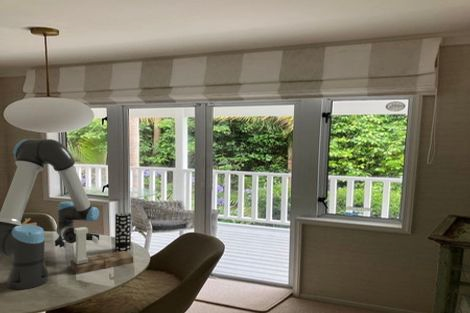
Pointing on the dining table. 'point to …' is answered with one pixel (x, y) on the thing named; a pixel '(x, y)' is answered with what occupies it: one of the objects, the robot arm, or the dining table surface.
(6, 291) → the dining table surface
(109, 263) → the fader console
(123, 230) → the spotted tube
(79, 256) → the fader knob
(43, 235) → the robot arm
